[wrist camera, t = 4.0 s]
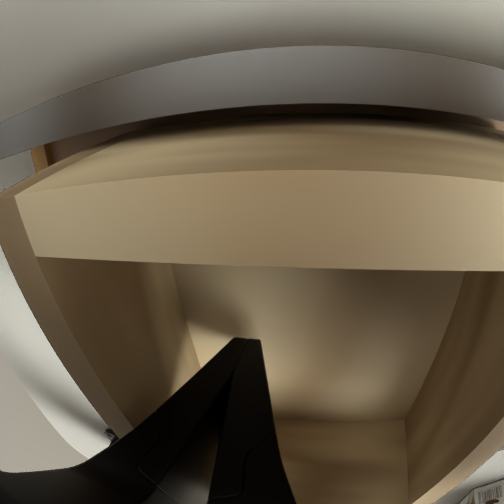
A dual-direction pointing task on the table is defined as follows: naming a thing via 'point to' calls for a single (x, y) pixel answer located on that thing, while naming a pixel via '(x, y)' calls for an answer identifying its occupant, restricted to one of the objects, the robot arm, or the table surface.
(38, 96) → the table surface
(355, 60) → the bay
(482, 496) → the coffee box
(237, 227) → the crate
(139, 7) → the table surface
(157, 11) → the table surface
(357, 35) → the table surface
